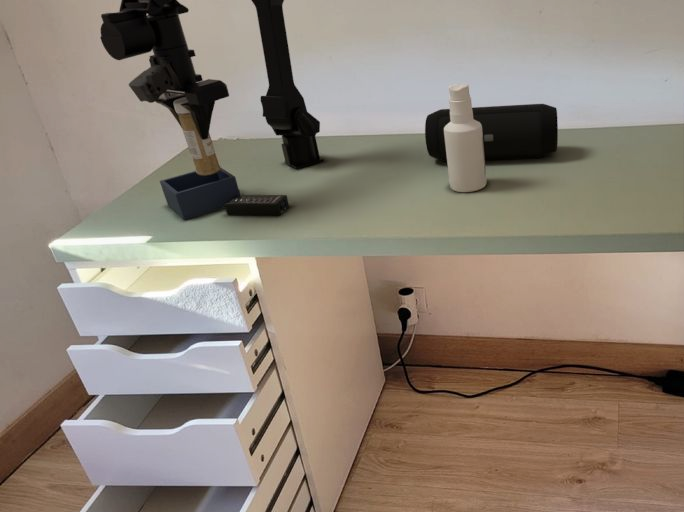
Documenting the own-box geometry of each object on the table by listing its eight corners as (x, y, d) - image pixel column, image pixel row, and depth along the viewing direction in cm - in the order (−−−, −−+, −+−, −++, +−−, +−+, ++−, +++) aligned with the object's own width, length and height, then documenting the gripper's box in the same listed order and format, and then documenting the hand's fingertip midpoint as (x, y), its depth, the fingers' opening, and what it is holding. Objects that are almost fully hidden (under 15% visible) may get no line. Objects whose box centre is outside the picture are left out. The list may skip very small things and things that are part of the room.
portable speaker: (428, 168, 142) (421, 118, 137) (437, 152, 150) (431, 104, 145) (555, 163, 137) (554, 111, 132) (558, 146, 146) (557, 96, 140)
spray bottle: (491, 180, 133) (483, 80, 123) (480, 193, 128) (471, 90, 118) (457, 179, 135) (446, 81, 126) (445, 192, 130) (433, 91, 120)
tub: (224, 189, 144) (216, 164, 141) (242, 202, 136) (235, 176, 133) (168, 205, 139) (159, 180, 136) (184, 220, 131) (175, 194, 128)
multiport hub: (238, 205, 135) (235, 194, 133) (290, 206, 132) (287, 194, 130) (226, 215, 131) (222, 203, 130) (279, 216, 128) (276, 203, 127)
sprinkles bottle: (224, 171, 133) (202, 98, 125) (200, 178, 131) (176, 104, 123) (216, 165, 136) (194, 93, 128) (193, 172, 134) (169, 99, 126)
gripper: (98, 55, 121) (130, 145, 129) (158, 59, 111) (189, 157, 119) (155, 41, 128) (183, 127, 136) (217, 44, 118) (242, 138, 126)
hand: (197, 137), depth 129 cm, fingers closed on sprinkles bottle, 4 cm apart
